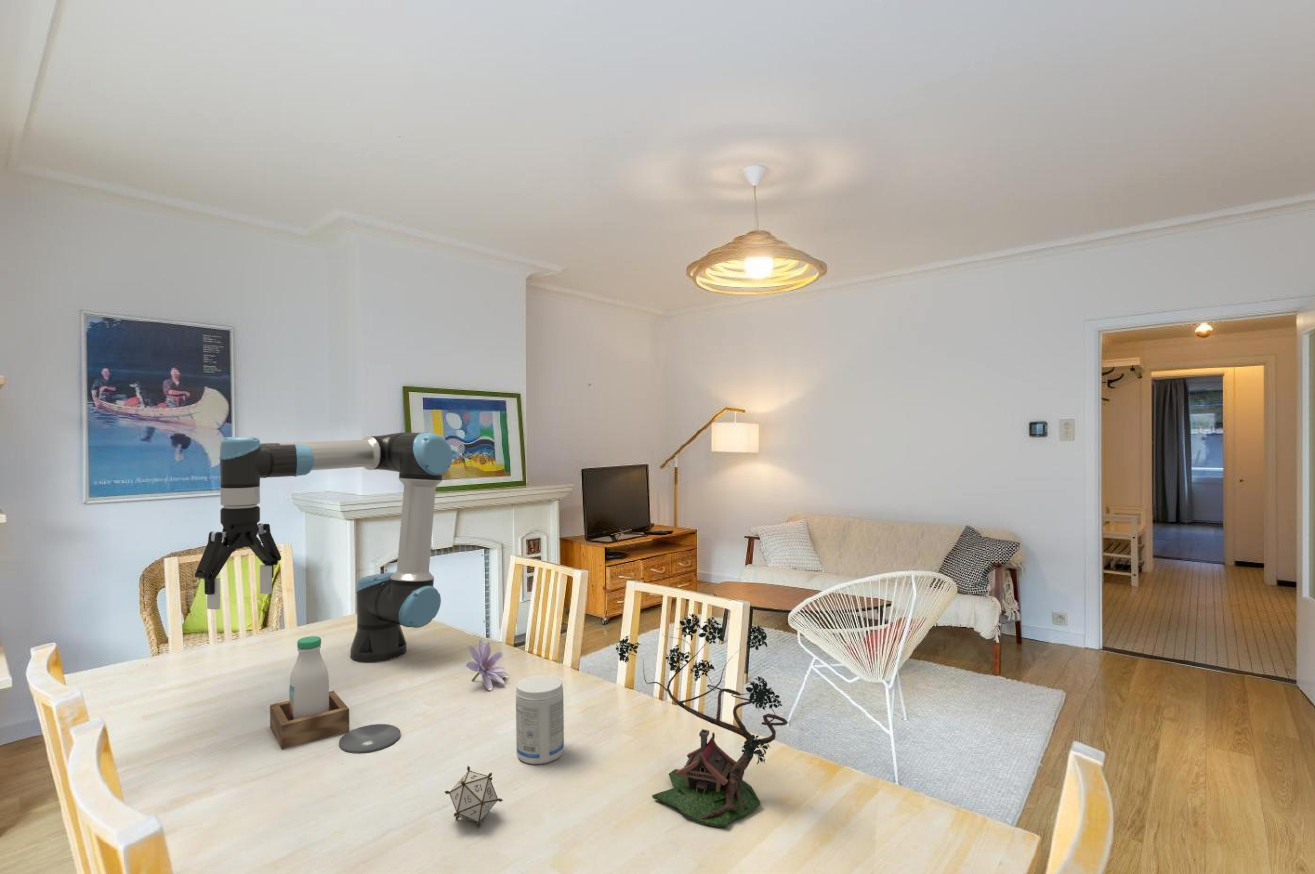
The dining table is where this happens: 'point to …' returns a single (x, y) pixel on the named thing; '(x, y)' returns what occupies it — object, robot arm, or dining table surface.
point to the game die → (473, 796)
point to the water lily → (486, 664)
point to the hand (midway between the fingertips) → (240, 600)
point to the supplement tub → (539, 719)
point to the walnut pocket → (308, 723)
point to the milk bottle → (308, 681)
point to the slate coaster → (369, 738)
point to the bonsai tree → (710, 773)
